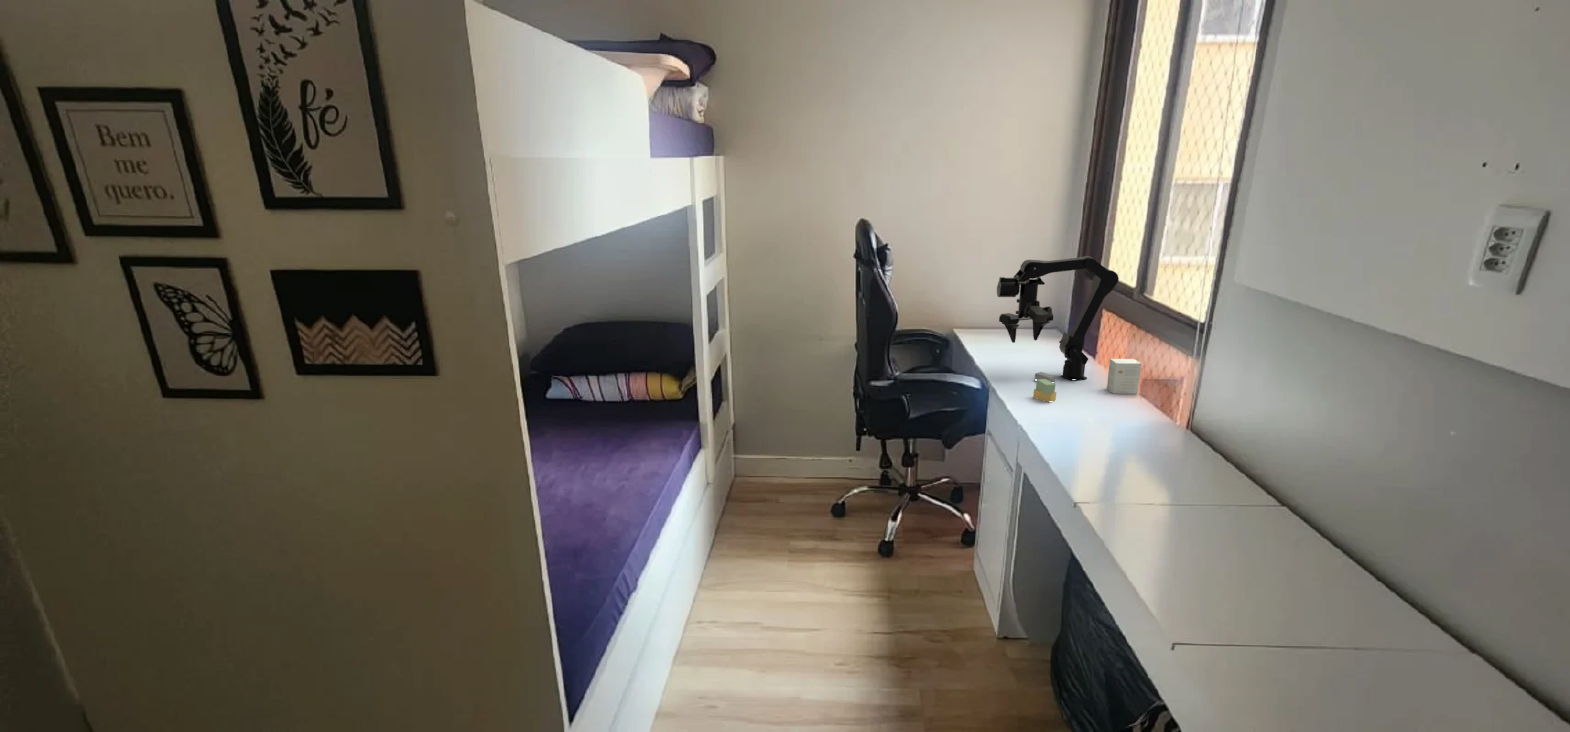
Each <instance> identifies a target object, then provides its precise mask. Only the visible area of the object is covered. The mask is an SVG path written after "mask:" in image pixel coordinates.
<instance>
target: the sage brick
mask: <svg viewBox="0 0 1570 732" xmlns="http://www.w3.org/2000/svg"><path fill="white" fill-rule="evenodd" d="M1035 389H1038V390H1039V391H1041V392H1043V393H1044V394H1054V392H1056V383H1055V384H1054V383H1052V382H1050V381H1048V380H1046V379H1037V382H1036V384H1035Z"/></svg>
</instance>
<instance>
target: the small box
mask: <svg viewBox="0 0 1570 732" xmlns="http://www.w3.org/2000/svg"><path fill="white" fill-rule="evenodd" d="M1141 369H1142V363H1141V362H1140V361H1138V360H1136V359H1135V358H1110V359H1109V364H1108V373H1107V381H1106V382H1107V384H1106V390H1108V391H1109V392H1110V393H1112V394H1113V395H1115V394H1117V395H1122V394H1123V395H1125V394H1127V395H1128V394H1129V395H1133V394H1134V395H1137V394H1138V392H1139V383H1140V377H1141Z"/></svg>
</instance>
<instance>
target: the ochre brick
mask: <svg viewBox="0 0 1570 732" xmlns="http://www.w3.org/2000/svg"><path fill="white" fill-rule="evenodd" d="M1033 397H1034V398H1038V399H1041V400H1040V401H1042V400H1045V401H1044V402H1046V401H1053V402H1056V401H1055V400H1056V397H1057V391H1055V392H1054V394H1044V393H1043V392H1041V391H1039V390H1038V389H1036V388H1035V389H1034V390H1033ZM1033 397H1032V398H1033ZM1034 398H1033V399H1034ZM1038 399H1037V400H1038Z"/></svg>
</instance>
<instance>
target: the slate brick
mask: <svg viewBox="0 0 1570 732" xmlns="http://www.w3.org/2000/svg"><path fill="white" fill-rule="evenodd" d="M1035 379H1046V380H1048V381H1050V382H1055V383H1056V376H1055V375H1053V374H1049V373H1046V372H1042V371H1039V372H1036V373H1034V380H1035Z"/></svg>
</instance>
